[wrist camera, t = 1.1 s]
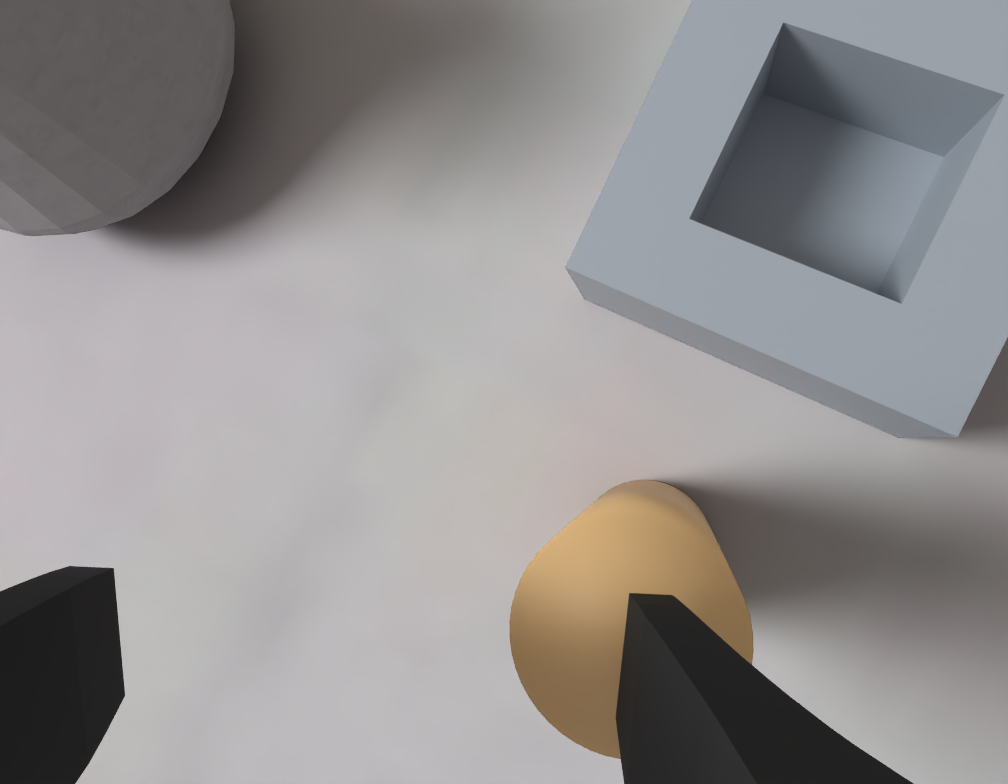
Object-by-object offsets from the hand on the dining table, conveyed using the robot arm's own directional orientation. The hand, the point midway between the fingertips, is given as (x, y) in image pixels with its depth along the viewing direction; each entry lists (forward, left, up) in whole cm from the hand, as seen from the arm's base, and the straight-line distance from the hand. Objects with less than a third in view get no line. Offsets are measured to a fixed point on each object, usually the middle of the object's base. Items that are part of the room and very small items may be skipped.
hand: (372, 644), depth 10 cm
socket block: (-3, -11, -11) cm, 16 cm away
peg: (-3, -1, -11) cm, 12 cm away
